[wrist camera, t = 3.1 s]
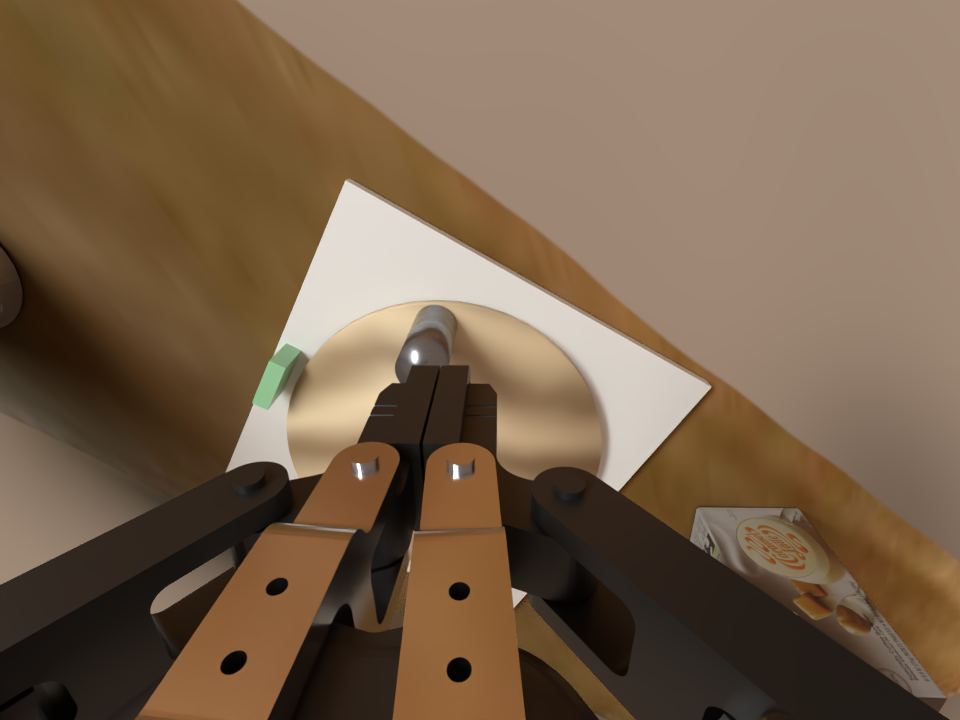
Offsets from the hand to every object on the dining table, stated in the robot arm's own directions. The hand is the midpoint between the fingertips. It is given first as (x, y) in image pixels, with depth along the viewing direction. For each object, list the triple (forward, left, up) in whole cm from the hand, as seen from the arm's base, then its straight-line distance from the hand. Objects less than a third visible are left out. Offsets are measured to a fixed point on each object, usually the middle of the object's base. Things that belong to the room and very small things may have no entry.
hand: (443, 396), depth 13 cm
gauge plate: (+6, -17, -23) cm, 29 cm away
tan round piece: (+6, -17, -22) cm, 28 cm away
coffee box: (+34, -12, -23) cm, 43 cm away
